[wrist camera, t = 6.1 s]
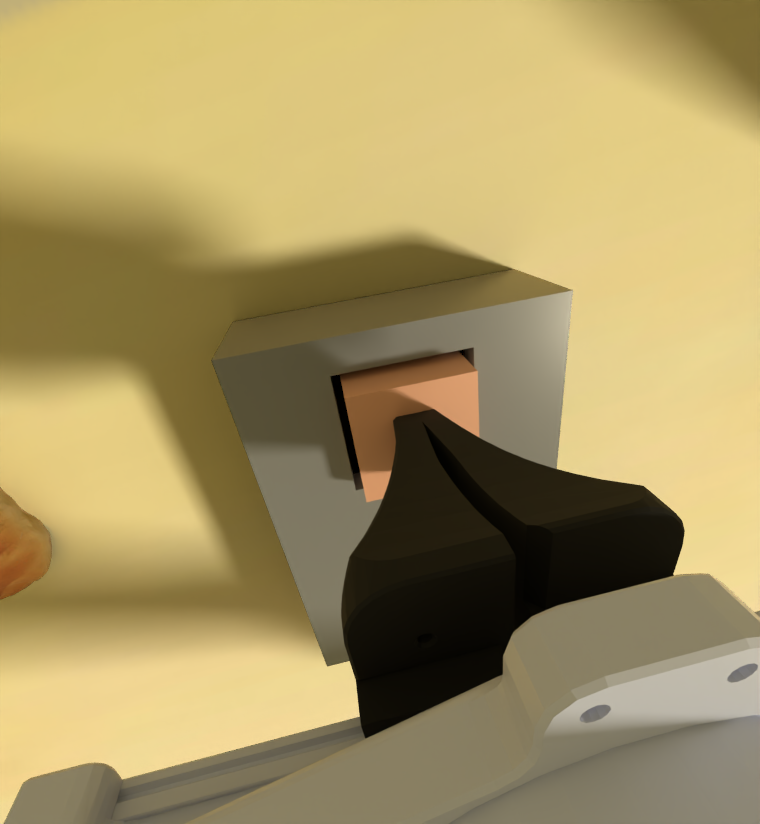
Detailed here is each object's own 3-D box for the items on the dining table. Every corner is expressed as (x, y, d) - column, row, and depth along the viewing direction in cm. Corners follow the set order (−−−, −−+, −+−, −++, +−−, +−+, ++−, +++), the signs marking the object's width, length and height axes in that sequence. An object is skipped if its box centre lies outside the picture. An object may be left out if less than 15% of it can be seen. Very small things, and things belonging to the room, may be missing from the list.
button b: (448, 425, 17) (480, 476, 14) (355, 445, 17) (366, 502, 14) (442, 334, 15) (477, 370, 12) (335, 355, 15) (344, 398, 12)
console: (508, 550, 24) (543, 611, 20) (323, 594, 23) (327, 666, 19) (514, 268, 16) (572, 290, 12) (232, 321, 15) (211, 360, 12)
